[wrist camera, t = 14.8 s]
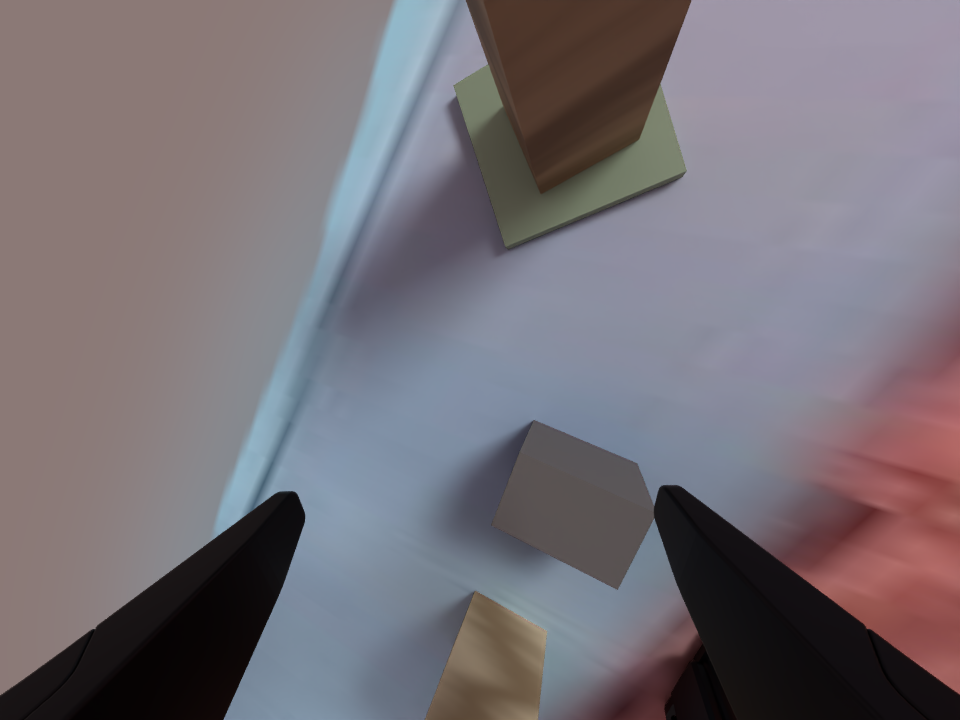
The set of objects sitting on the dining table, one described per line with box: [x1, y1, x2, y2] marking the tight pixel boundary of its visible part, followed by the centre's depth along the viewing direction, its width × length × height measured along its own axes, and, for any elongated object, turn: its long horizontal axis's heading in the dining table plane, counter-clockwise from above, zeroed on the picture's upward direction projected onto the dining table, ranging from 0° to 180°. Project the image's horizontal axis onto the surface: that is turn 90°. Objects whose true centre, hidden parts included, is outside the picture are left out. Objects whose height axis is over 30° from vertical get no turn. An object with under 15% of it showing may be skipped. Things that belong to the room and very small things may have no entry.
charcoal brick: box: [491, 420, 654, 590], centre depth 17 cm, size 6×4×5 cm, turn 71°
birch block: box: [425, 591, 547, 720], centre depth 18 cm, size 5×5×9 cm
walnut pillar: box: [466, 0, 691, 194], centre depth 10 cm, size 5×5×13 cm
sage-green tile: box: [453, 65, 687, 249], centre depth 18 cm, size 9×9×2 cm
